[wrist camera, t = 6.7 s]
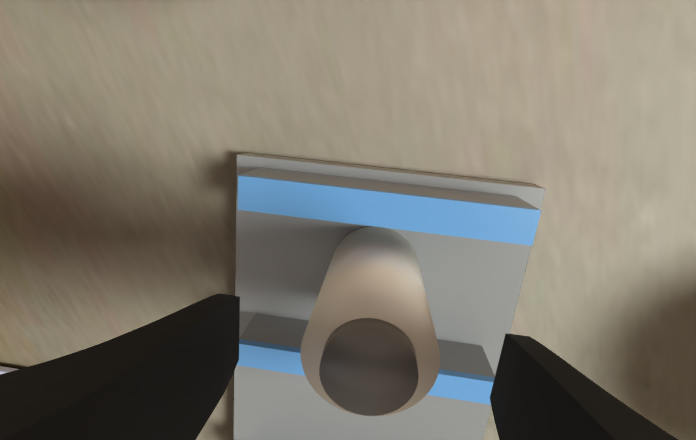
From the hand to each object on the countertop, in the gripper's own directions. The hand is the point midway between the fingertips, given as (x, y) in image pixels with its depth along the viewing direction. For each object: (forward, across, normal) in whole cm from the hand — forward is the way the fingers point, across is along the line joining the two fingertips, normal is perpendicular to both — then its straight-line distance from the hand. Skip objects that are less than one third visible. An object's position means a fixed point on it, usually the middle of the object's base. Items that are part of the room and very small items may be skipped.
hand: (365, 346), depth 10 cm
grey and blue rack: (+7, 0, +4) cm, 8 cm away
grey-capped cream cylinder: (+6, 0, 0) cm, 6 cm away
